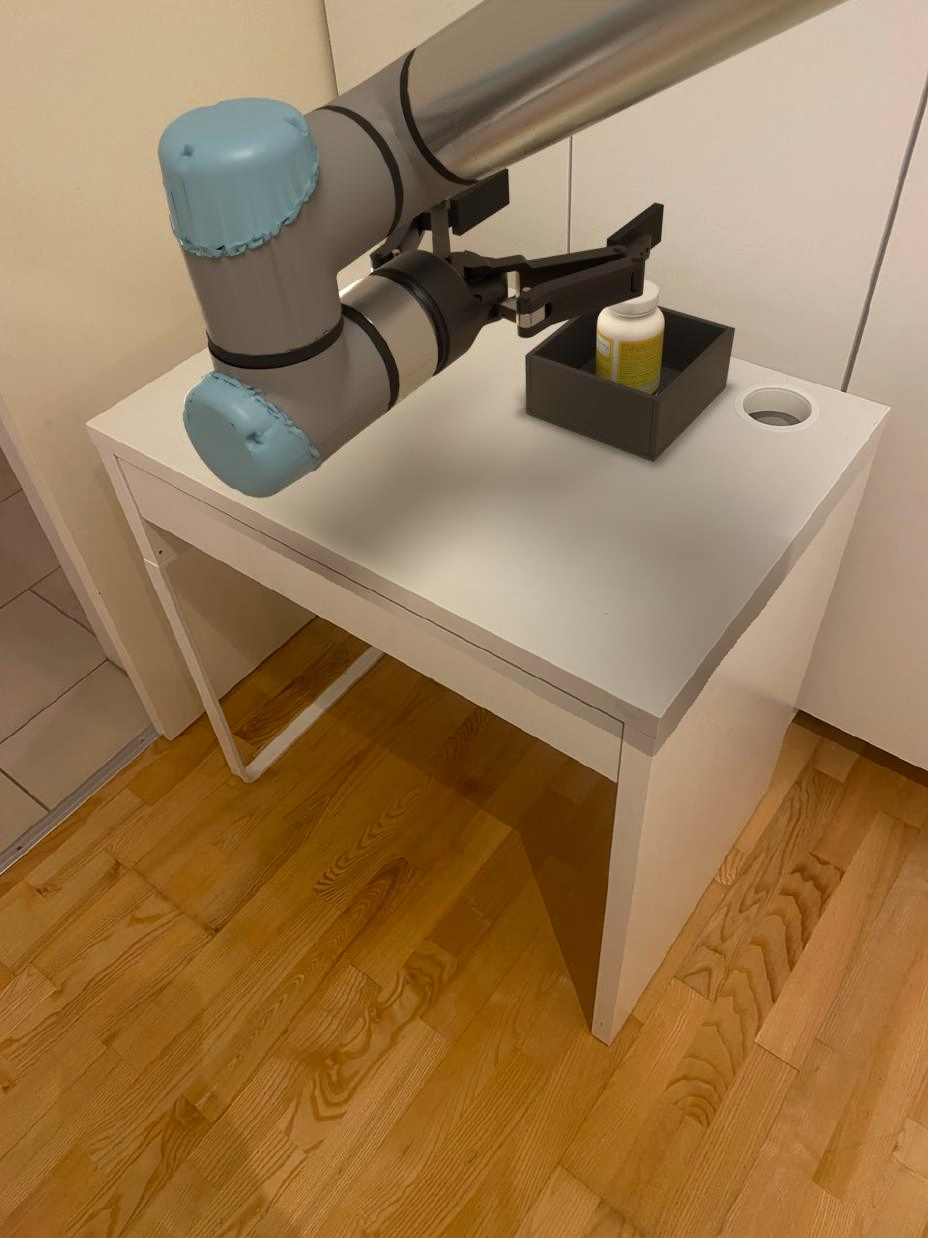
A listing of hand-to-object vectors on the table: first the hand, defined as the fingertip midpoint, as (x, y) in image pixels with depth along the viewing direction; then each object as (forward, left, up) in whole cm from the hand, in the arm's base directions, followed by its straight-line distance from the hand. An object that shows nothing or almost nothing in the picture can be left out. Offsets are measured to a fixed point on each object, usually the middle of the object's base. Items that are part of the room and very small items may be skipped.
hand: (578, 202), depth 72 cm
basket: (0, -10, -23) cm, 25 cm away
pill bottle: (0, -10, -23) cm, 25 cm away
